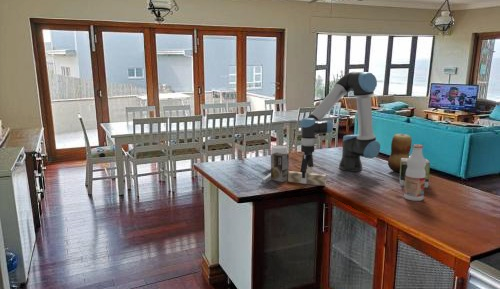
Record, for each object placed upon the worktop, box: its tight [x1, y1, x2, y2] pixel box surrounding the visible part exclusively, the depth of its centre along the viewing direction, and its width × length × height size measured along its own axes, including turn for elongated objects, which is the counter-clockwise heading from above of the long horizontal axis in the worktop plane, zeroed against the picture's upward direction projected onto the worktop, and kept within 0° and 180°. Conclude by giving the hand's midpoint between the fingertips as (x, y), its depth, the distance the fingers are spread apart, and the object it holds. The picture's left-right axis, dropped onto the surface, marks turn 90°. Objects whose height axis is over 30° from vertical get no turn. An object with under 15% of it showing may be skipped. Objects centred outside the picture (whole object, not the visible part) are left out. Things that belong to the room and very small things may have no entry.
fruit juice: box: [403, 143, 426, 202], centre depth 194 cm, size 9×9×28 cm
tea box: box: [399, 158, 431, 189], centre depth 219 cm, size 15×10×15 cm, turn 71°
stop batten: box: [261, 172, 271, 184], centre depth 233 cm, size 2×20×2 cm, turn 157°
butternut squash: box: [387, 133, 412, 173], centre depth 246 cm, size 14×13×25 cm
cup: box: [270, 144, 288, 155], centre depth 256 cm, size 11×11×15 cm
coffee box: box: [270, 152, 289, 183], centre depth 229 cm, size 9×6×16 cm
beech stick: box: [287, 170, 327, 187], centre depth 224 cm, size 22×3×6 cm, turn 67°
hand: (306, 180), depth 224 cm, fingers open, 13 cm apart
